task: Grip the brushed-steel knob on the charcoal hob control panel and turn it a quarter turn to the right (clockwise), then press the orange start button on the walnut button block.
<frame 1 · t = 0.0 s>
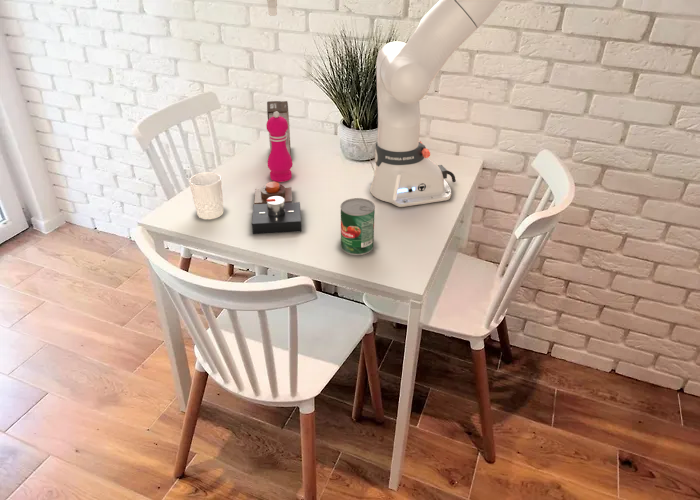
hand: (273, 10, 128), 48 cm above the table, tool pointing down, fingers open, 8 cm apart
hob knob: (276, 205, 140), point 5 cm above the table, hinge at 0.0°
start button: (272, 187, 151), point 4 cm above the table, slide at 0.1 cm
coffee box: (280, 155, 178), on the table
hob panel: (277, 222, 143), on the table
canned tomato: (357, 246, 134), on the table
button box: (273, 200, 153), on the table
white cup: (210, 213, 147), on the table
pepper mill: (281, 178, 165), on the table
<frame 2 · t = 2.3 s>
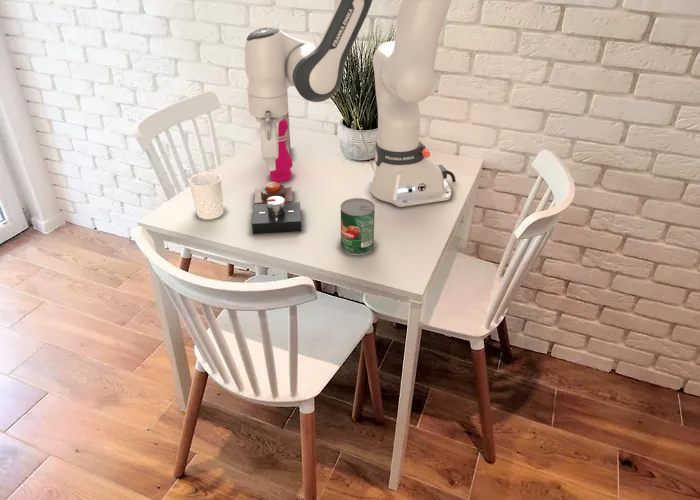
hand: (272, 161, 134), 17 cm above the table, tool pointing down, fingers open, 8 cm apart
nothing on the table moved.
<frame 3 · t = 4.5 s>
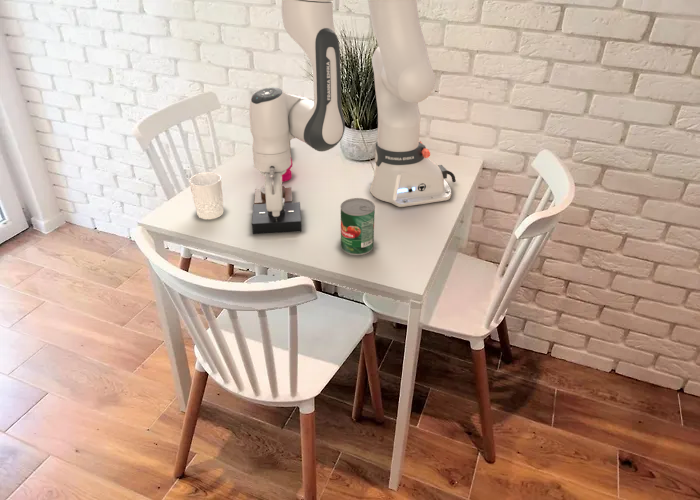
hand: (276, 209, 141), 4 cm above the table, tool pointing down, fingers closed on hob knob, 4 cm apart
hob knob: (276, 205, 140), point 5 cm above the table, hinge at -0.1°, touching gripper
everything else where it was.
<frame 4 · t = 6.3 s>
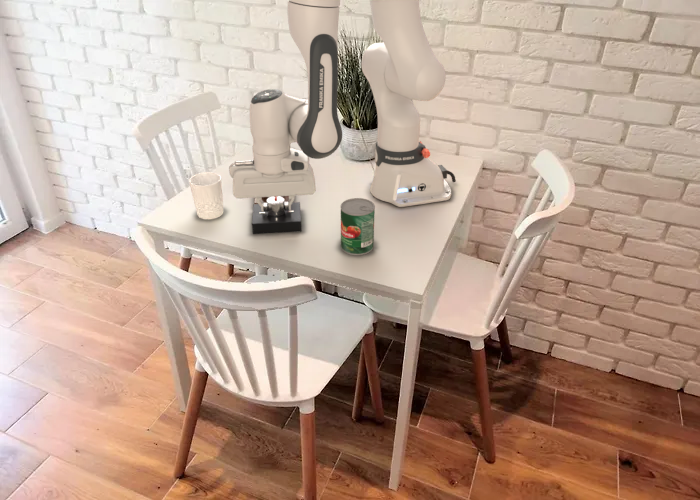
hand: (276, 210, 141), 4 cm above the table, tool pointing down, fingers closed on hob knob, 4 cm apart
hob knob: (276, 205, 140), point 5 cm above the table, hinge at -93.2°, touching gripper
everything else where it was.
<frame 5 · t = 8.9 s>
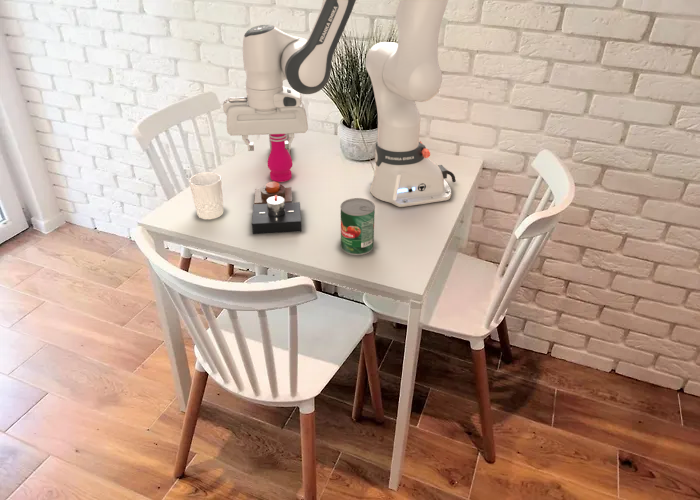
hand: (269, 149, 144), 15 cm above the table, tool pointing down, fingers open, 8 cm apart
hob knob: (276, 205, 140), point 5 cm above the table, hinge at -93.2°
everything else where it was.
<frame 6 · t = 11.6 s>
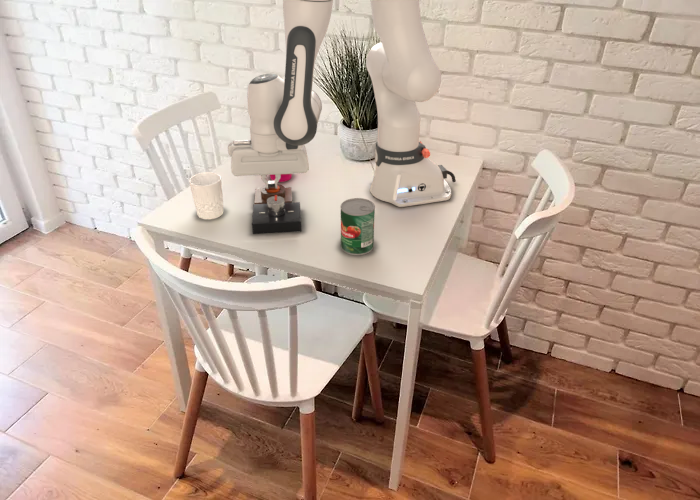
hand: (271, 188, 150), 4 cm above the table, tool pointing down, fingers closed, pressing on start button
start button: (273, 190, 151), point 3 cm above the table, slide at -0.8 cm, touching gripper
everything else where it was.
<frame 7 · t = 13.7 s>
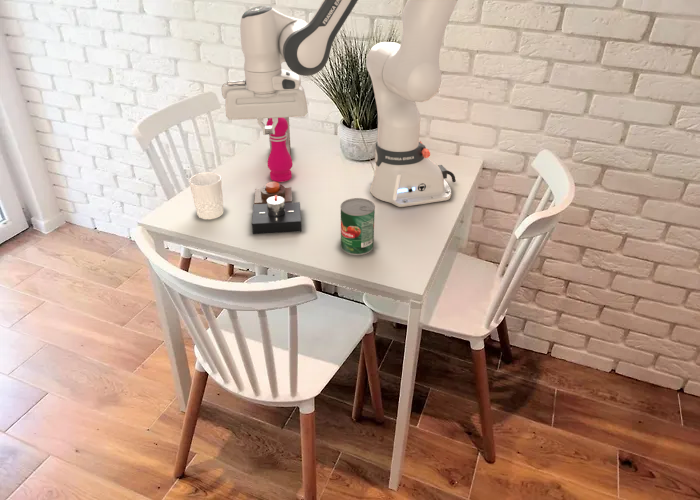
hand: (269, 133, 143), 19 cm above the table, tool pointing down, fingers closed
start button: (272, 187, 151), point 4 cm above the table, slide at 0.1 cm
everything else where it was.
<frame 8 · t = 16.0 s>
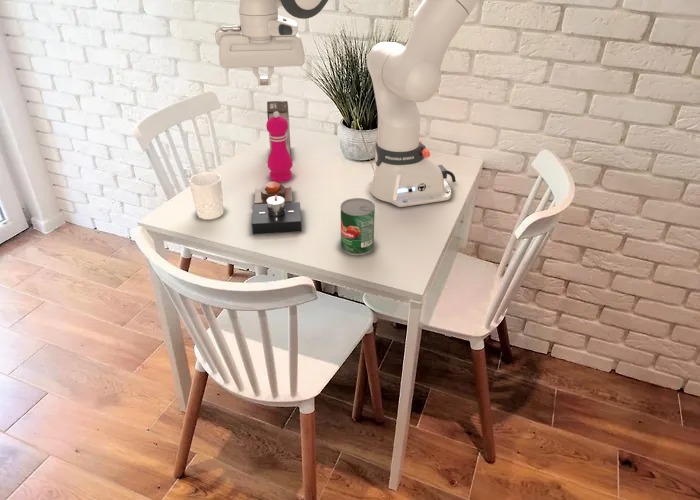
hand: (264, 84, 137), 31 cm above the table, tool pointing down, fingers closed
nothing on the table moved.
at the end: hob knob at -93° (first picture: +0°); start button pushed in 1.1 cm at the most during the clip, back to where it started at the end; start button slide at 0.1 cm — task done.
